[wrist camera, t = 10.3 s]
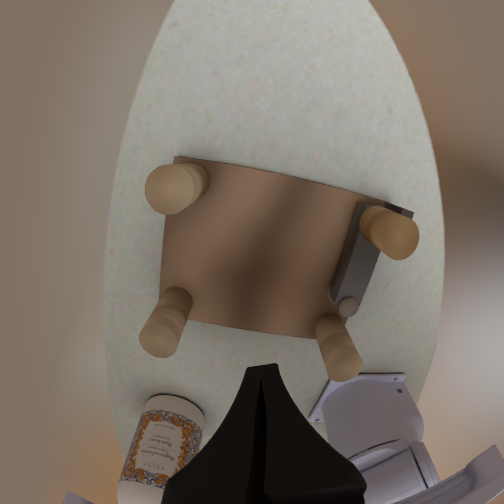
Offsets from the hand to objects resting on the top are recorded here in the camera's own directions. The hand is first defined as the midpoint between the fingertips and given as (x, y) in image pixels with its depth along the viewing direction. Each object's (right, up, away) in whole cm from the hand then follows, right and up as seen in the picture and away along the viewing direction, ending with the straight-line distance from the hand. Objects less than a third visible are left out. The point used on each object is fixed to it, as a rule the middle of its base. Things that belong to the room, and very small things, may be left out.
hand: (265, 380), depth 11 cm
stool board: (+1, +5, +9) cm, 10 cm away
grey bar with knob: (+7, +6, +7) cm, 11 cm away
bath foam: (-9, -12, +15) cm, 21 cm away
